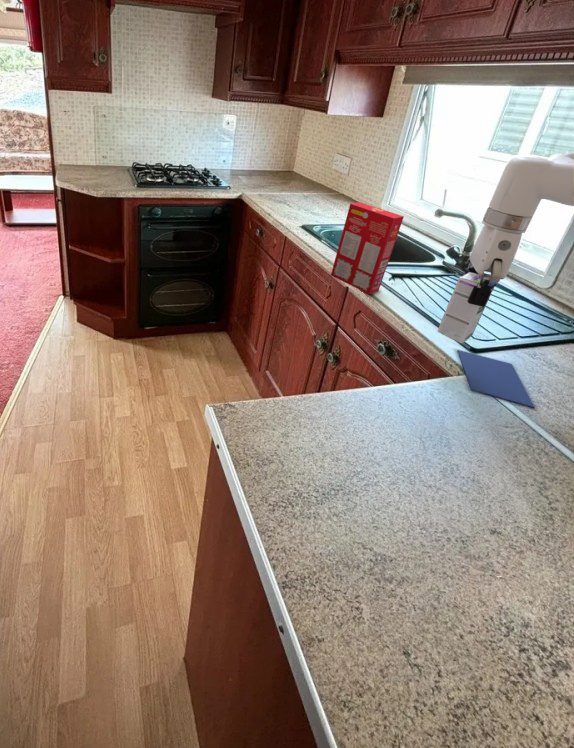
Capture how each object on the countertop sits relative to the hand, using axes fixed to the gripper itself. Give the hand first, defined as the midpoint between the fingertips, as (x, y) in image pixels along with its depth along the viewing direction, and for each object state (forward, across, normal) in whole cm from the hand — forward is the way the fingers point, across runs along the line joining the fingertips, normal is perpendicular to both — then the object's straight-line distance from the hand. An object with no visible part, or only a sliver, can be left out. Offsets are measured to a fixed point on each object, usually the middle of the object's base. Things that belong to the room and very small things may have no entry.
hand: (471, 295), depth 89 cm
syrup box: (+10, 0, 0) cm, 10 cm away
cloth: (+19, 0, -11) cm, 22 cm away
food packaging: (+19, +35, +21) cm, 45 cm away
